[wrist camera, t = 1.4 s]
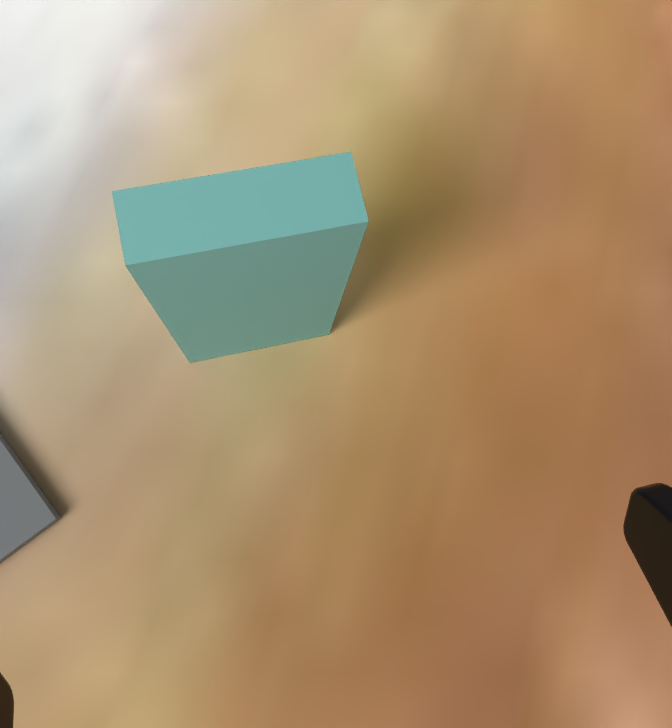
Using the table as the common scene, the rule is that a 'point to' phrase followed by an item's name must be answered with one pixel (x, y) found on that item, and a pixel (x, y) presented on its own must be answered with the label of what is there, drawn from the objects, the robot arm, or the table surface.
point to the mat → (20, 504)
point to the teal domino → (245, 252)
